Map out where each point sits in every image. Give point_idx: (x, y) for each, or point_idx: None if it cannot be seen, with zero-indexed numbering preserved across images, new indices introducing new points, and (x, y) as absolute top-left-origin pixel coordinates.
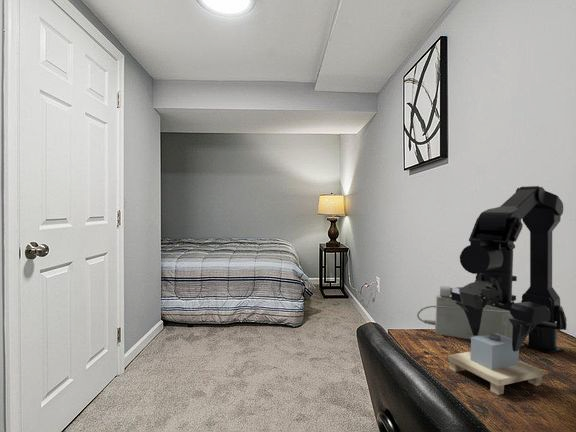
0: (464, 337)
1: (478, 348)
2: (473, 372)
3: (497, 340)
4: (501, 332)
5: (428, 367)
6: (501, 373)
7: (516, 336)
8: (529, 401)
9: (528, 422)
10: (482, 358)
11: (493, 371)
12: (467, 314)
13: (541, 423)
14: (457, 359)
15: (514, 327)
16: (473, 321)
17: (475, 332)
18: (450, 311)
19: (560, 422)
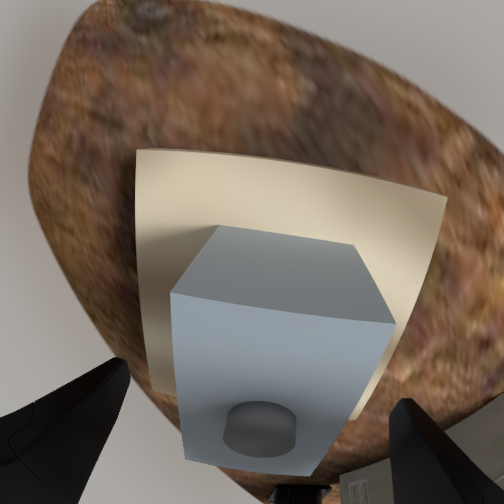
0: (447, 431)
1: (310, 277)
2: (284, 160)
3: (231, 410)
4: (370, 491)
5: (457, 119)
6: (174, 232)
7: (35, 406)
8: (109, 216)
9: (57, 97)
10: (275, 248)
11: (204, 217)
12: (487, 491)
13: (45, 128)
14: (395, 184)
15: (3, 450)
16: (433, 473)
17: (402, 418)
18: (502, 463)
19: (36, 183)
